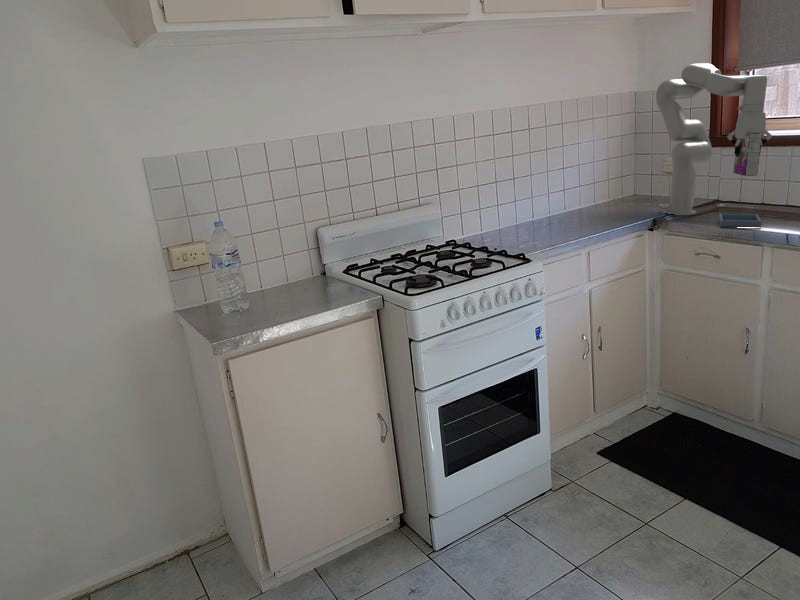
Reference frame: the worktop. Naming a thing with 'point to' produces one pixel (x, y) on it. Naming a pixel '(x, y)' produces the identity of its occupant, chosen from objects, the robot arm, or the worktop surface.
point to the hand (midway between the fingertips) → (746, 156)
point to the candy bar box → (748, 155)
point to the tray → (739, 220)
